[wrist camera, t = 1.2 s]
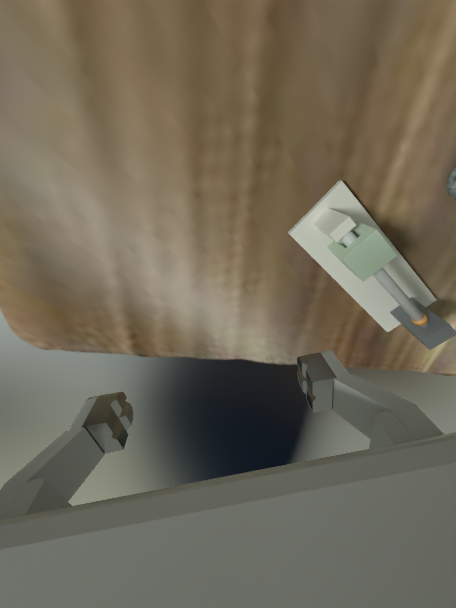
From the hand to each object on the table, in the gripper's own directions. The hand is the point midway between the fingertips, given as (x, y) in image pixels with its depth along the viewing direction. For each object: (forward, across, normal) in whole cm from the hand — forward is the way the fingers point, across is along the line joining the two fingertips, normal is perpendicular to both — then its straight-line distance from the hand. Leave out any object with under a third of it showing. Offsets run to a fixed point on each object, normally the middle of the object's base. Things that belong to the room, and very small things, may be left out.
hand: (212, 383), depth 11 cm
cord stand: (+30, -26, +10) cm, 41 cm away
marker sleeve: (+25, -21, +4) cm, 33 cm away
